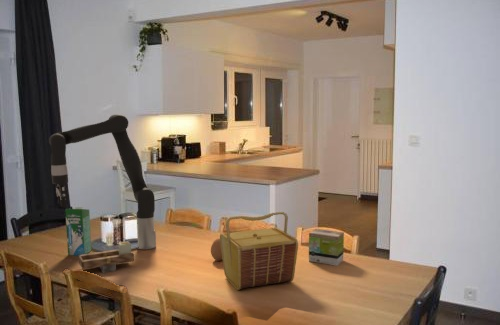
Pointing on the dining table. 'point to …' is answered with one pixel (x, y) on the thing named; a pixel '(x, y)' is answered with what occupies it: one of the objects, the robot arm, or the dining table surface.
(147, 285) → the dining table surface
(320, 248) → the tea box
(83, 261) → the beam
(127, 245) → the block
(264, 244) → the picnic basket
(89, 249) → the milk carton
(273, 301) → the dining table surface
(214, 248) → the egg
